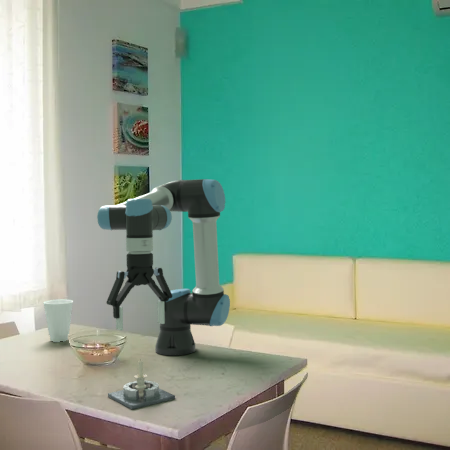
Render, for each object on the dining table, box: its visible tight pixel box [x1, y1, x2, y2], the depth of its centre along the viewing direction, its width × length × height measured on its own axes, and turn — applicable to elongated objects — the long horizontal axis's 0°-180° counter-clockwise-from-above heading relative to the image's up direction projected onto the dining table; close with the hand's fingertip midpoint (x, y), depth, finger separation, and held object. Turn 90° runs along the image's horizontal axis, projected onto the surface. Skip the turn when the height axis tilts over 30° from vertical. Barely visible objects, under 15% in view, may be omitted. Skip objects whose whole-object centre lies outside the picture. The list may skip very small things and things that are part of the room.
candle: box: [133, 359, 148, 397], centre depth 172 cm, size 5×5×10 cm
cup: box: [43, 299, 74, 343], centre depth 247 cm, size 12×12×16 cm
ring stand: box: [107, 380, 176, 410], centre depth 173 cm, size 14×14×4 cm
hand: (140, 326), depth 172 cm, fingers open, 13 cm apart
